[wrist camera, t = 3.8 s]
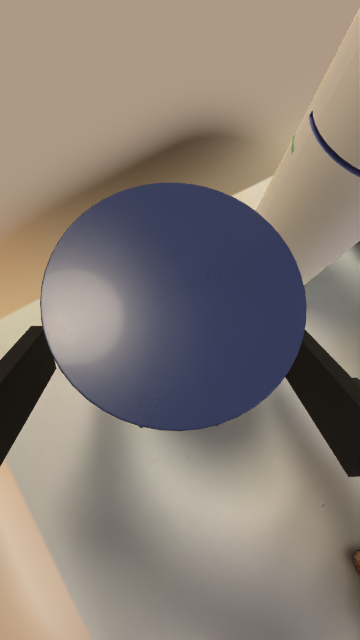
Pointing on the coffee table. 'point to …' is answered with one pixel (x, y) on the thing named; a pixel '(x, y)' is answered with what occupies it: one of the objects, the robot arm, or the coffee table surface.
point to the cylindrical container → (322, 169)
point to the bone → (357, 561)
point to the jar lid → (173, 306)
